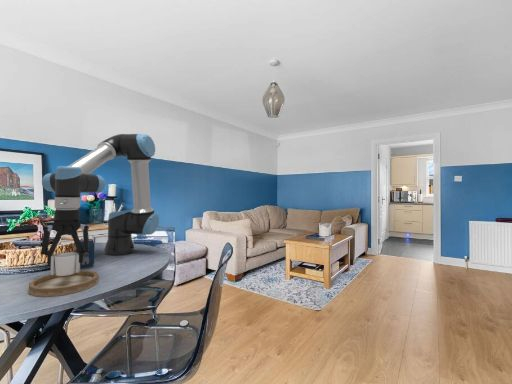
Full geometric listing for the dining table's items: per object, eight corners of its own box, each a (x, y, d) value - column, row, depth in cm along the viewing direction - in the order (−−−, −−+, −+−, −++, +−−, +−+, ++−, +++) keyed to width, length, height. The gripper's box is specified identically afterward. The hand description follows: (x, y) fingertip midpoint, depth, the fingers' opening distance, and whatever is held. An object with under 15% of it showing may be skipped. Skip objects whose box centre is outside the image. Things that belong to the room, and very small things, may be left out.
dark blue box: (87, 263, 122) (88, 238, 122) (97, 265, 119) (98, 239, 119) (72, 267, 116) (72, 240, 116) (82, 269, 113) (82, 242, 113)
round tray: (91, 273, 109) (91, 267, 109) (104, 286, 94) (104, 280, 94) (27, 284, 95) (27, 277, 95) (30, 301, 80) (31, 294, 80)
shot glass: (64, 277, 90) (65, 256, 90) (48, 275, 92) (49, 255, 92) (81, 271, 97) (82, 252, 97) (66, 269, 99) (66, 251, 99)
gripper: (29, 209, 87) (26, 278, 87) (97, 209, 95) (95, 273, 95) (37, 208, 94) (35, 272, 94) (100, 208, 102) (98, 267, 102)
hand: (65, 272), depth 94 cm, fingers closed on shot glass, 7 cm apart
